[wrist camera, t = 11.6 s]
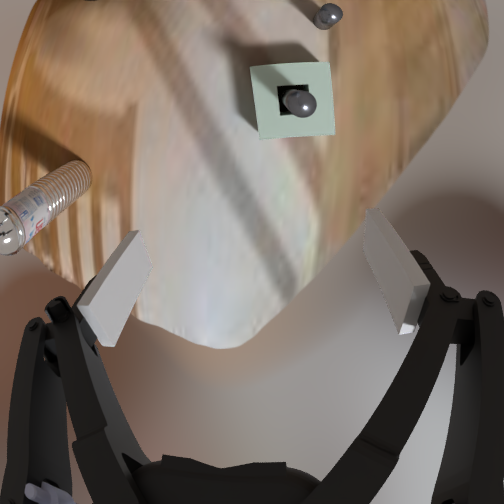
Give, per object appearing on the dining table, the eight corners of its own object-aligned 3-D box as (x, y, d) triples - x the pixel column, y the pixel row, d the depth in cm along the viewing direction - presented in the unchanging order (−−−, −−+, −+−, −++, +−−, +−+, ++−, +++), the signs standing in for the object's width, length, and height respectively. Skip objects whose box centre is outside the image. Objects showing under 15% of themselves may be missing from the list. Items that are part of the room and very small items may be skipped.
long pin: (279, 89, 36) (286, 91, 24) (299, 88, 35) (315, 89, 24) (282, 108, 37) (289, 118, 25) (301, 106, 37) (317, 117, 25)
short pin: (312, 13, 29) (319, 2, 24) (331, 13, 28) (341, 3, 23) (314, 29, 30) (322, 21, 25) (333, 30, 30) (344, 22, 25)
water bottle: (72, 196, 46) (-14, 275, 25) (60, 164, 42) (-36, 232, 21) (98, 188, 45) (8, 271, 24) (86, 153, 41) (-17, 221, 20)
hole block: (251, 69, 34) (249, 66, 30) (322, 64, 33) (329, 62, 29) (260, 133, 39) (259, 139, 35) (327, 129, 38) (335, 134, 34)
